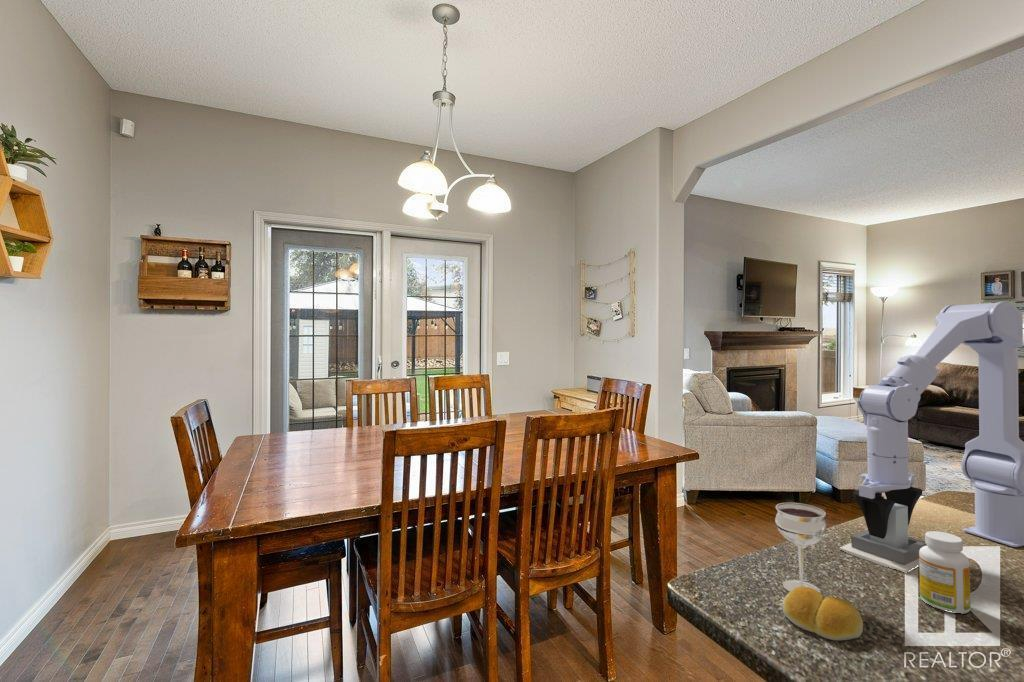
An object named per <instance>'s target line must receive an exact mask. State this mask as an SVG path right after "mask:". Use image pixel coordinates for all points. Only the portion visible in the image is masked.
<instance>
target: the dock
mask: <svg viewBox="0 0 1024 682" xmlns="http://www.w3.org/2000/svg"><path fill="white" fill-rule="evenodd" d="M850 538H851V539H850V540H851V542H850V543H847V544H845V545H843V546H840V547H838V549H840V550H842V551H844V552H843V553H845V552H846V554H849V555H851V556H854V557H857V558H860V559H862V560H866V561H868V562H871V563H874V564H877V565H880V566H882V567H885V568H888V567H889V568H888V569H890V568H893V569H897V570H900V571H902V572H904V573H903V574H905V573H906V572H908V571H909V570H911V569H912V568H915V567H916V566H917V565H919V550H920V549H921V548H922V547H923V546H927V544H926V543H925V540H922V539H921V540H920V539H918V538H914V537H911V536H908V546H907V547H905V548H902V549H897V548H894V547H891V546H888V545H885V544H882V543H878V542H875V541H872V540H870V534H869V531H868V529H866V530H864V531H861V532H858V533H855V534H853V535H851V537H850ZM840 550H839V551H840ZM842 551H841V552H842ZM893 569H892V570H893ZM902 572H901V573H902ZM908 573H909V572H908ZM906 574H907V573H906Z"/></svg>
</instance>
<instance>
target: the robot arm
mask: <svg viewBox="0 0 1024 682" xmlns="http://www.w3.org/2000/svg"><path fill="white" fill-rule="evenodd" d="M1023 320H1024V319H1023V313H1022V312H1021V311H1020V310H1019V308H1018V307H1016V305H1014V304H1013V303H1012V302H1010V301H1005V300H1004V301H1003V300H1002V301H999V302H990V303H989V302H988V303H987V302H986V303H971V304H958V305H957V304H948V305H946V306H944V307H942V309H941V310H940V312H939V313H938V314H937V315H935V328H934V330H933V331H932V332H931V333H930V335H929V336H928V337H927V338H926V340H924V343H923V344H922V345H921V346H920V347H919V349H918V350H917V352H916V353H915V354H913V355H912V354H909V355H905V356H902V357H899V358H898V360H897V361H896V364H894V366H893V367H892V368H890V370H889V371H888V372H887V373H886V374H885V376H884V377H883V378H881V379H880V381H879V382H877V384H872V385H869V386H868V387H865V388H863V390H862V391H861V392H860V395H859V399H857V401H856V403H857V408H858V409H859V411H860V413H861V414H862V417H863V419H862V420H863V422H862V423H864V425H865V426H866V448H867V449H866V455H867V473H861V474H860V479H862V480H863V482H862V483H860V484H858V490H855V491H854V492H853V499H854V500H855V502H856V503H857V505H858V506H859V508H860V510H861V512H862V514H863V517H864V521H865V524H866V527H867V530H868V531H869V534H870V535H872V536H875V537H878V538H882V539H883V538H885V536H886V533H887V525H888V518H889V514H890V511H891V509H892V507H893V505H894V504H895V503H896V504H900V505H904V506H908V527H909V525H910V521H911V518H912V515H913V511H914V508H915V506H916V504H917V502H918V501H919V500H920V498H921V497H922V495H923V489H921V488H919V487H914V486H915V485H916V474H914V473H910V471H909V470H910V469H909V468H910V467H909V466H910V465H909V461H910V460H909V420H910V419H912V418H913V417H915V415H916V414H917V411H918V406H919V402H920V400H921V397H922V396H921V395H922V394H923V393H924V392H925V390H926V389H927V388H928V387H929V386H930V385H931V384H932V382H934V381H935V379H936V378H937V377H938V376H939V375H938V369H937V366H939V364H940V363H941V362H943V361H944V359H946V357H948V356H949V355H950V354H951V353H953V351H954V350H956V349H957V348H958V347H959V346H960V345H964V346H967V347H970V348H971V349H972V350H973V351H975V352H976V353H977V356H978V420H979V421H978V423H979V424H978V426H979V428H978V429H979V430H978V431H979V434H978V436H976V437H975V438H972V439H970V440H969V441H967V442H965V444H964V447H965V449H964V453H963V456H962V458H961V461H960V466H961V467H960V468H961V471H962V474H963V475H964V476H965V478H966V479H968V480H969V485H973V486H974V526H970V527H964V528H963V529H962V531H963V532H964V533H968V534H972V535H974V536H978V537H981V538H984V539H987V540H990V541H993V542H997V543H1000V544H1003V545H1006V546H1009V547H1014V548H1019V547H1023V546H1024V441H1023V440H1022V439H1021V438H1020V434H1019V433H1020V427H1019V423H1020V421H1019V419H1020V418H1019V410H1020V409H1019V407H1020V405H1019V347H1021V346H1023V345H1024V340H1023V338H1024V332H1023V331H1024V322H1023ZM883 494H884V495H885V496H883Z"/></svg>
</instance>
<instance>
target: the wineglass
mask: <svg viewBox="0 0 1024 682" xmlns="http://www.w3.org/2000/svg"><path fill="white" fill-rule="evenodd" d="M775 509H776V511H777V513H776V515H775V519H774V521H775V522H774V523H775V526H776V528H777V530H778V532H779V533H780V534H781V535H782V537H783V538H785V539H786V540H787V541H789V542H791V543H793V545H795V547H797V557H798V571H799V572H798V573H799V580H797V579H790V580H785V581H784V582H783V583H782V587H784V589H785V590H787V591H788V592H791V591H792V590H793V589H795V588H797V587H801V586H802V587H810V588H812V589H815V590H817V591H818V592H820V593H821V590H820V588H818V587H817V586H816V585H814V584H812V583H809V582H807V581H804V555H805V553H804V552H805V551H804V549H806V548H807V547H808V546H812V545H816V544H817V543H819V542H820V541H821V540H823V539H824V538H825V535H826V533H827V524H826V521H825V519H824V518H825V517H826V514H827V513H826V512H825V510H824V509H821V508H819V507H816V506H814V505H811V504H806V503H799V502H781V503H777V504H776V505H775ZM821 594H822V593H821Z"/></svg>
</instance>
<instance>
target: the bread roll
mask: <svg viewBox="0 0 1024 682" xmlns="http://www.w3.org/2000/svg"><path fill="white" fill-rule="evenodd" d="M781 611H782V613H783V616H785V617H786V618H787V620H789V621H790V622H791V623H792V624H793V625H795V626H796V627H798V628H800V629H802V630H804V631H808V632H809V633H815V634H816V635H817V636H820V637H822V638H824V639H827V640H831V641H836V642H837V641H840V642H841V641H848V640H853V639H858V638H860V637H861V635H862V634H863V631H864V629H863V628H864V620H863V619H862V616H861V614H860V612H859V610H857V608H855V606H854V605H852V604H851V603H850V602H848V601H846V600H845V599H842V598H840V597H837V596H830V595H828V596H826V597H825V595H823V593H820V592H818V591H817V590H815V589H812V588H810V587H802V586H801V587H797V588H795V589H793V590H792V591H791V592H790V591H788V592H787V595H786V596H784V598H783V600H782V603H781Z"/></svg>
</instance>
